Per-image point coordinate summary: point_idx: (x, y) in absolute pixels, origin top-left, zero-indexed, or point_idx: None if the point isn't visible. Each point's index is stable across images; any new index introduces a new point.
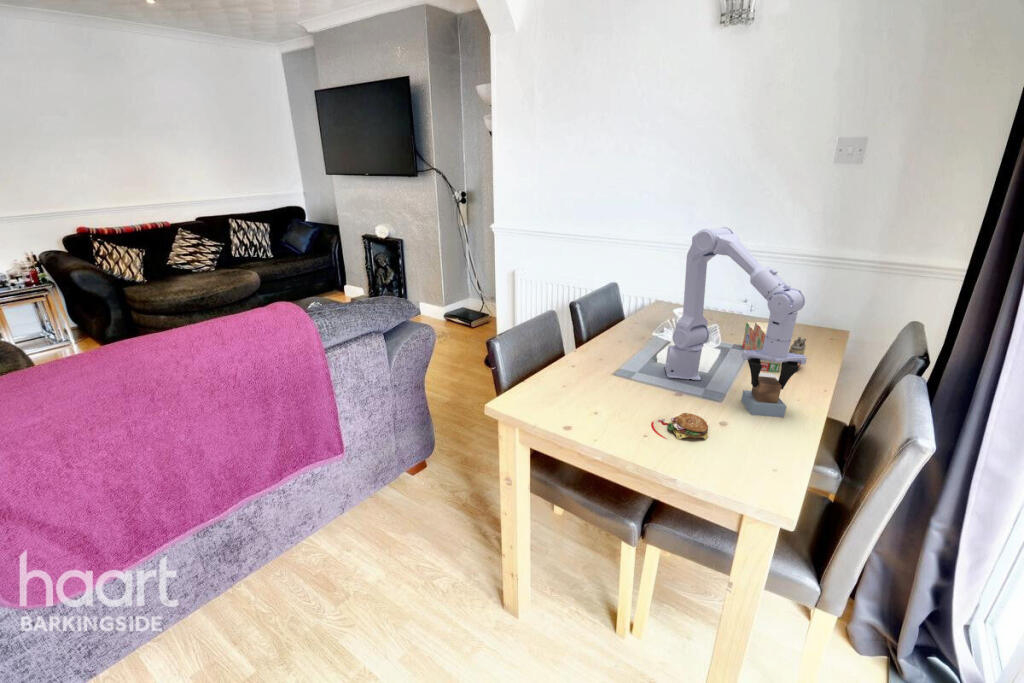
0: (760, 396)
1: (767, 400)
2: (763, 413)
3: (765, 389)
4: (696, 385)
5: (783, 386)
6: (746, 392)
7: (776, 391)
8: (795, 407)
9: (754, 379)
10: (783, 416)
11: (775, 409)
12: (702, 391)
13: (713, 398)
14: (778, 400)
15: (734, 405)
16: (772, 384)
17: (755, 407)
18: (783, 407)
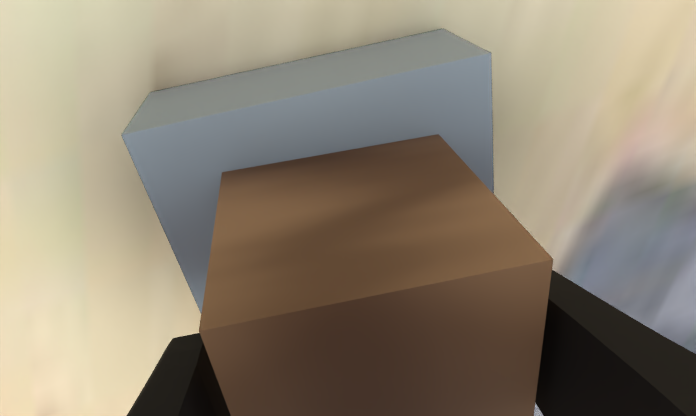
0: (434, 165)
1: (336, 164)
2: (343, 56)
3: (428, 225)
4: (680, 344)
5: (164, 369)
6: None
7: (265, 246)
8: (58, 308)
9: (651, 330)
10: (154, 91)
11: (240, 93)
12: (679, 284)
13: (649, 214)
14: (207, 244)
15: (533, 160)
16: (353, 321)
17: (448, 51)
18: (157, 122)
